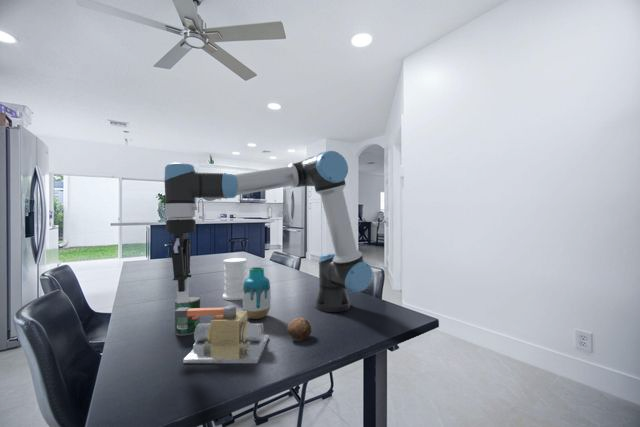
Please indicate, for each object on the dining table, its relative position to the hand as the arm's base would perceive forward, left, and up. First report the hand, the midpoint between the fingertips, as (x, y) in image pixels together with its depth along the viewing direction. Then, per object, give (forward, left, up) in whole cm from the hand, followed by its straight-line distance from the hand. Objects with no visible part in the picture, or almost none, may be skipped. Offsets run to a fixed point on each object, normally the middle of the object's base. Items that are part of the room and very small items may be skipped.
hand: (183, 301), depth 77 cm
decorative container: (+3, -56, -16) cm, 58 cm away
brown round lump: (-32, -12, -16) cm, 37 cm away
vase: (-14, -29, -15) cm, 35 cm away
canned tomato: (+7, -17, -16) cm, 24 cm away
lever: (-6, -3, -5) cm, 8 cm away
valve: (-12, -4, -15) cm, 20 cm away
